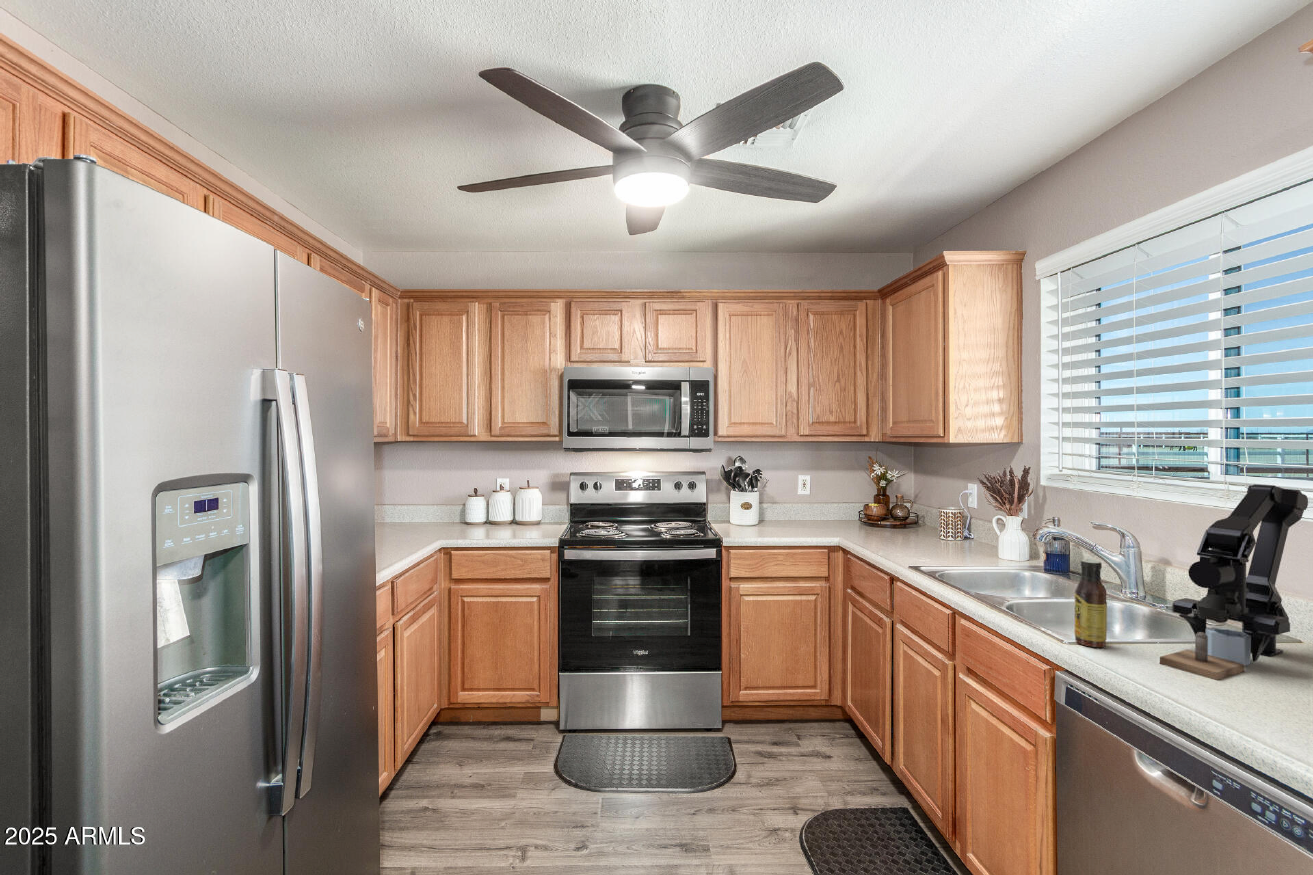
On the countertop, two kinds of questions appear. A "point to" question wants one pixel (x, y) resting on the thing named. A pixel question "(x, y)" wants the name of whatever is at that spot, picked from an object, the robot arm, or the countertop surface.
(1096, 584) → the sauce bottle
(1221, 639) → the blue roll
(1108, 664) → the countertop surface
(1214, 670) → the roll holder
